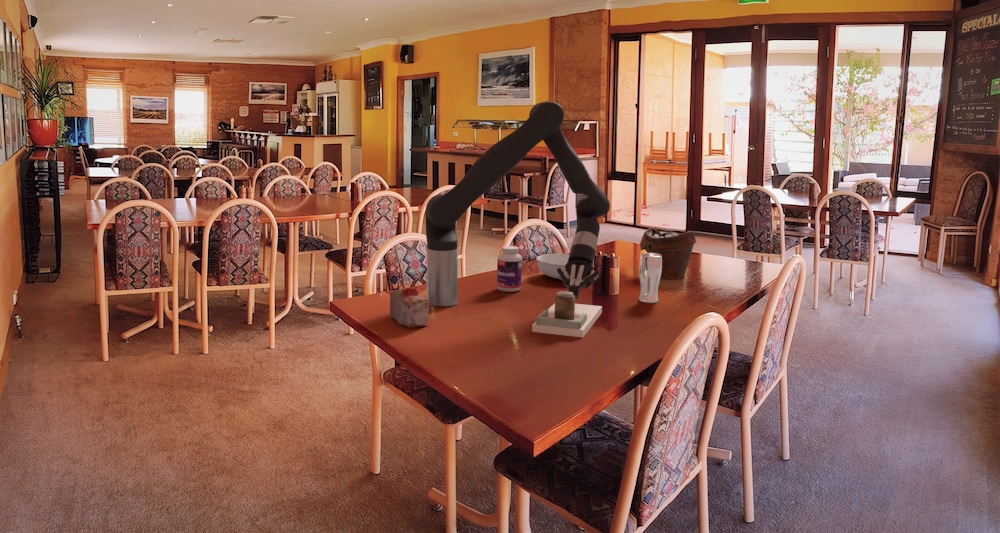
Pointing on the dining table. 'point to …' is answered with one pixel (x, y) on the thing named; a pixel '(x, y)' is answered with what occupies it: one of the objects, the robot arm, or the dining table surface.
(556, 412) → the dining table surface
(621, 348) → the dining table surface
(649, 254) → the beer glass
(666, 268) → the brown bucket
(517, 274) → the pill bottle
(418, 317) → the grey stone block
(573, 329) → the board
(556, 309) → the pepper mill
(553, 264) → the serving bowl
